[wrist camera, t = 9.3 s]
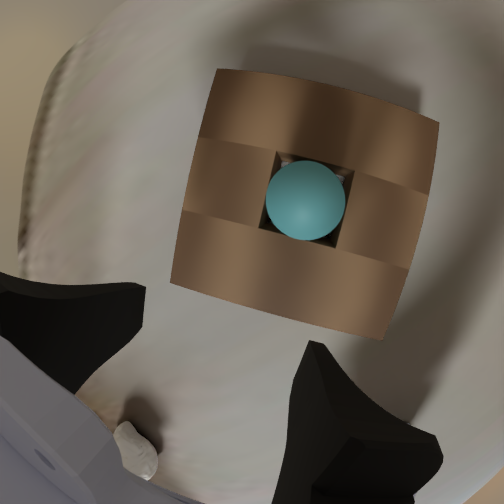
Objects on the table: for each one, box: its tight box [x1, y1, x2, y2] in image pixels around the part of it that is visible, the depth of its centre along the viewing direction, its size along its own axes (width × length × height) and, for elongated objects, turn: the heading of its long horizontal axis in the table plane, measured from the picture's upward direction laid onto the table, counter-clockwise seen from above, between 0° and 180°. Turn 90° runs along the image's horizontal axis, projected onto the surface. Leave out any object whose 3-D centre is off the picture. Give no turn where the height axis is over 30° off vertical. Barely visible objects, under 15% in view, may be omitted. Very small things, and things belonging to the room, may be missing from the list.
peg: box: [266, 161, 345, 240], centre depth 15 cm, size 3×3×9 cm
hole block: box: [170, 68, 439, 341], centre depth 17 cm, size 14×14×4 cm
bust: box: [113, 421, 158, 481], centre depth 23 cm, size 12×8×11 cm
